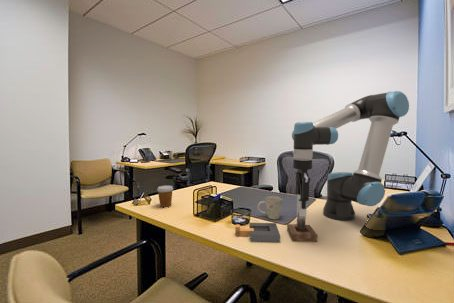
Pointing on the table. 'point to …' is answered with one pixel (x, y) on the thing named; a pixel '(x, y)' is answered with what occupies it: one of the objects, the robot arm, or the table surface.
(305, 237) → the block
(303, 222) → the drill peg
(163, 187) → the disposable coffee cup
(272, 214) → the mug
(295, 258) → the table surface
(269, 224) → the socket block
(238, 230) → the wooden block
